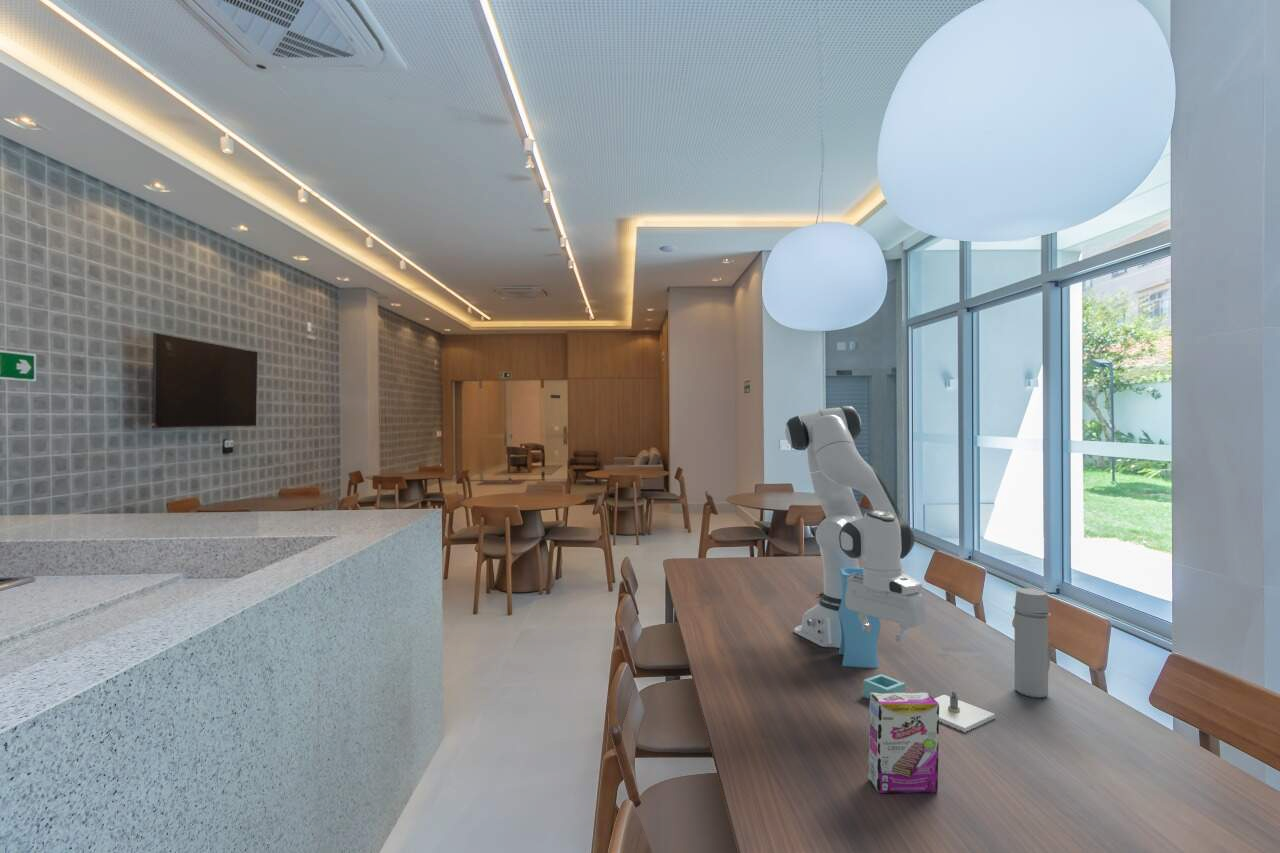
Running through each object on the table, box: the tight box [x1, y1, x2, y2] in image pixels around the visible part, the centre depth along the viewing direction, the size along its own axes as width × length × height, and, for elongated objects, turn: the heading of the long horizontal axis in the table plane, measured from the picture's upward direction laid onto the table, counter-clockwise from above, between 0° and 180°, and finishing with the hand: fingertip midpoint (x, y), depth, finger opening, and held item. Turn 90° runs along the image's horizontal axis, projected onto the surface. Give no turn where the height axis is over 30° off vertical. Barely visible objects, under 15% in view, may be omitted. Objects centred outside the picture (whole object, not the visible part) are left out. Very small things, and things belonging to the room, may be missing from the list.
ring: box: [862, 673, 906, 700], centre depth 150 cm, size 7×7×4 cm
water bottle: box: [1013, 587, 1052, 699], centre depth 153 cm, size 9×8×25 cm
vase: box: [838, 567, 881, 669], centre depth 174 cm, size 10×10×25 cm
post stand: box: [933, 690, 996, 733], centre depth 141 cm, size 12×12×5 cm
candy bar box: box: [867, 692, 940, 794], centre depth 113 cm, size 11×5×16 cm, turn 92°
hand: (883, 636), depth 150 cm, fingers open, 8 cm apart
